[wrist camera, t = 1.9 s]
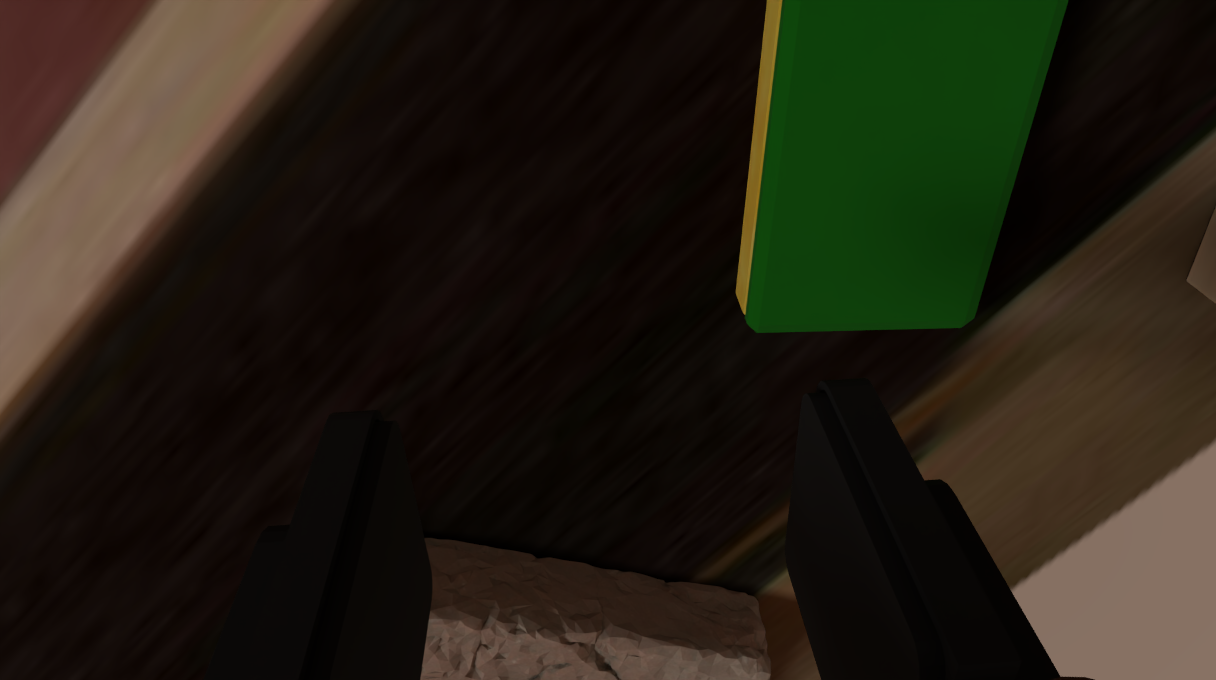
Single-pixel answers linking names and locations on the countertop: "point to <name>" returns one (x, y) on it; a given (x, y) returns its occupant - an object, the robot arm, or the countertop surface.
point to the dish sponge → (886, 158)
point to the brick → (581, 622)
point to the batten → (1206, 263)
